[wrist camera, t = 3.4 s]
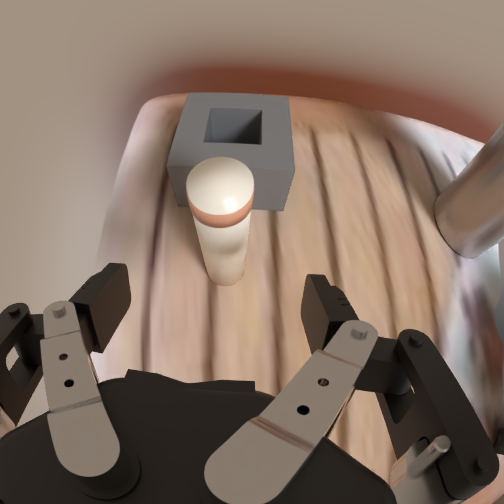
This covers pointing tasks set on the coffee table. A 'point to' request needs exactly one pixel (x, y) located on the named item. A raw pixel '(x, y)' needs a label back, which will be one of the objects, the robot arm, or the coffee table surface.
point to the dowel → (222, 215)
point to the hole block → (236, 142)
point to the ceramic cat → (500, 442)
